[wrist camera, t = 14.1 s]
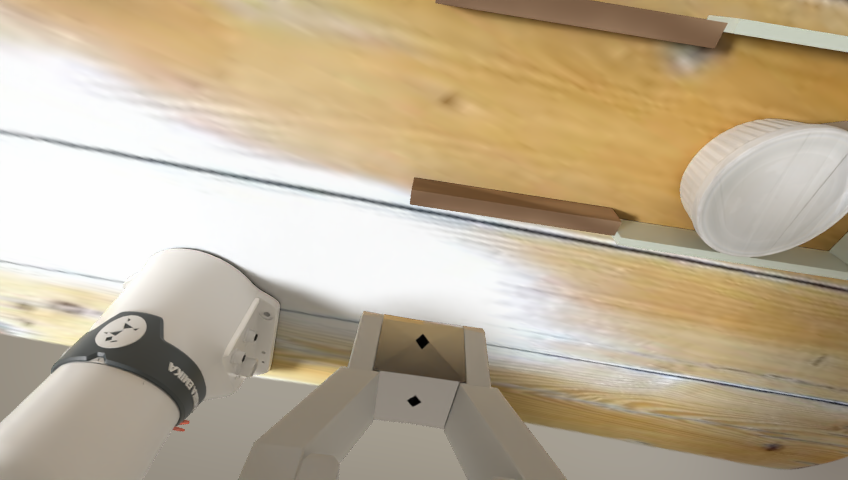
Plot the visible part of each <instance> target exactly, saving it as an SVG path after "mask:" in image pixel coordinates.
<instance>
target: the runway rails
mask: <svg viewBox="0 0 848 480" xmlns="http://www.w3.org/2000/svg"><path fill="white" fill-rule="evenodd" d="M436 3H438V4H444V5H450V6H456V7H462V8H469V9H475V10H481V11H487V12H493V13H499V14H505V15H512V16H518V17H524V18H530V19H536V20H542V21H548V22H554V23H561V24H567V25H573V26H579V27H585V28H591V29H597V30H604V31H610V32H616V33H622V34H628V35H634V36H640V37H646V38H653V39H659V40H665V41H671V42H677V43H683V44H689V45H695V46H702V47H708V48H715V46H716V45H717V43H718V41H719V39H720V37H721V35H722V33H723V31H724V30H725V28H726V26H727V24H728V23H725V22H719V21H713V20H707V19H701V18H695V17H689V16H683V15H676V14H670V13H664V12H658V11H652V10H646V9H640V8H634V7H628V6H622V5H616V4H610V3H603V2H597V1H591V0H436ZM410 204H411V205H417V206H424V207H430V208H437V209H443V210H450V211H456V212H463V213H469V214H476V215H482V216H489V217H495V218H502V219H508V220H515V221H521V222H528V223H534V224H541V225H547V226H554V227H560V228H567V229H573V230H580V231H586V232H593V233H599V234H606V235H612V236H615V234H616V232H617V230H618V229H619V227H620V225H621V223H622V222H621V220H620V219H619V217H618V216H617V214H616V213H615V212H614V210H613V209H612V208H608V207H601V206H595V205H588V204H582V203H575V202H569V201H562V200H556V199H550V198H543V197H537V196H530V195H524V194H517V193H511V192H504V191H498V190H492V189H485V188H479V187H472V186H466V185H459V184H453V183H446V182H440V181H434V180H427V179H421V178H414V182H413V186H412V191H411V199H410Z"/></svg>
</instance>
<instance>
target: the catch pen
mask: <svg viewBox="0 0 848 480" xmlns="http://www.w3.org/2000/svg"><path fill="white" fill-rule="evenodd" d="M707 20H713V21H719V22H725V23H728V24H727V26H726V28H725V30H724V31H723V32H728V33H734V34H740V35H746V36H752V37H758V38H764V39H770V40H776V41H782V42H789V43H795V44H801V45H807V46H813V47H819V48H825V49H831V50H837V51H843V52H848V36H842V35H836V34H830V33H824V32H818V31H812V30H806V29H800V28H794V27H788V26H781V25H775V24H769V23H763V22H757V21H751V20H745V19H738V18H730V17H721V16H713V15H709V16H708V18H707ZM620 220H621V222H622V223H621V225H620V227H619V229H618V230H617V232H616V234H615V236H612V235H611V236H612V237H613V239H614V241H615V242H616V244H617V245H622V246H628V247H635V248H641V249H648V250H654V251H661V252H667V253H674V254H680V255H687V256H693V257H700V258H706V259H713V260H719V261H726V262H732V263H739V264H745V265H752V266H758V267H765V268H771V269H778V270H784V271H791V272H797V273H804V274H810V275H817V276H823V277H830V278H836V279H843V280H848V232H847V233H846V234H845V235H844V236H843V237H842V238H841V239H840V240H839V241H838V242H837V243H836V244H835V245H834V247H833V248H832V249H831V250H830V251H824V250H817V249H811V248H804V247H798V246H796V247H794V248H791V249H788V250H785V251H782V252H779V253H775V254H771V255H766V256H759V257H737V256H731V255H727V254H723V253H720V252H718V251H716V250H714V249H713V248H711V247H710V246H708V245H707V244H706V243H705V242H704V241H703V240H702V239H701V238H700V237H699V235H698V234H697V232H696V231H694V230H688V229H681V228H675V227H669V226H662V225H656V224H649V223H643V222H636V221H630V220H623V219H620Z"/></svg>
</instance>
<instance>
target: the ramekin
mask: <svg viewBox="0 0 848 480" xmlns="http://www.w3.org/2000/svg"><path fill="white" fill-rule="evenodd" d="M680 198H681V202H682V204H683V207H684V209H685V210H686V212H687V213H688V215H689V217H690V218H691V220H692V222H693V226H694V228H695V230H696V232H697V234H698V235H699V237H700V238H701V239H702V240H703V241H704V242H705V243H706V244H707V245H708V246H710V247H711V248H713V249H714V250H716V251H718V252H720V253H723V254H727V255H731V256H737V257H759V256H766V255H771V254H775V253H779V252H782V251H785V250H788V249H791V248H794V247H796V246H799V245H801V244H803V243H805V242H807V241H809V240H811V239H813V238H815V237H816V236H818V235H820V234H821V233H823V232H824V231H826V230H827V229H829V228H830V227H831V226H833V225H834V224H835V223H836V222H838V221H839V220H840V219H841V218H842V217H843V216H844V215H845V214H846V213H848V131H846V130H844V129H841V128H838V127H834V126H830V125H823V124H807V123H801V122H796V121H790V120H782V119H763V120H755V121H752V122H746V123H744V124H741V125H738V126H735V127H733V128H731V129H729V130H727V131H725V132H723V133H721V134H720V135H718V136H717V137H715V138H714V139H712V140H711V141H710V142H709V143H707V144H706V145H705V146H704V147H703V148H702V149H701V150H700V151H699V152H698V153H697V154H696V155H695V156H694V157H693V159H692V160H691V162H690V163H689V165H688V167H687V168H686V170H685V172H684V174H683V176H682V181H681V183H680Z"/></svg>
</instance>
